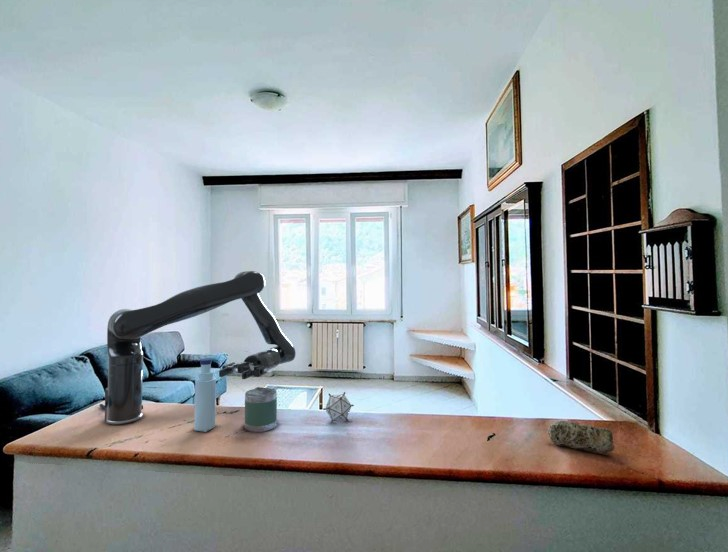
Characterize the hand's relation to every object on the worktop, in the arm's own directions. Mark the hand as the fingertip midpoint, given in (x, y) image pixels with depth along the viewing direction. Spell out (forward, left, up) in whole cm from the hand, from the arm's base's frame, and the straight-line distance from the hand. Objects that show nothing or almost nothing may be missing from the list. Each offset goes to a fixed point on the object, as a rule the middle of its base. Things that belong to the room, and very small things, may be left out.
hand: (231, 375), depth 127 cm
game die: (+34, +6, -12) cm, 37 cm away
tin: (+14, -5, -12) cm, 19 cm away
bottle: (0, -12, -12) cm, 17 cm away
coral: (+99, +8, -12) cm, 100 cm away
